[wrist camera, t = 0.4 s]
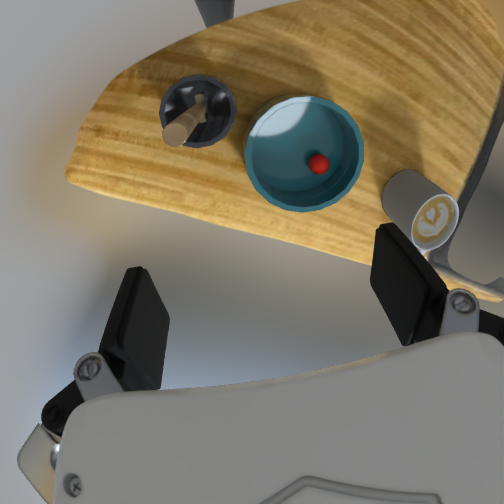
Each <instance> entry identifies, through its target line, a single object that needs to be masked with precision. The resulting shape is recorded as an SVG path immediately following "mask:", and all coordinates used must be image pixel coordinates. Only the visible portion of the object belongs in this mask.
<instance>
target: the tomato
mask: <svg viewBox="0 0 504 504" xmlns="http://www.w3.org/2000/svg"><path fill="white" fill-rule="evenodd" d="M309 168H310V170H311V171H312V172H313V173H315V174H318V175H321V174H324V173H326V172H327V171H328V169H329V160H328V159H327V157H326V156H324V155H322V154H315V155H313V156H312V157H311V158H310V160H309Z"/></svg>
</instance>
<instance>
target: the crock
mask: <svg viewBox="0 0 504 504" xmlns="http://www.w3.org/2000/svg"><path fill="white" fill-rule="evenodd" d="M203 92H204V93H205V98H206V103H207V109H208V114H209V118H208V119H207V121H206V122H203V123H200V121H199V123H198V124H197V125H196V127H195V128H194V130H193V131H192V133H191V134H190V136H189V137H188V139H187V140H186V142H185V143H184V144H183V146H187V147H193V148H201V147H206V146H211V145H213V144H215V143H216V142H218V141H220V140H221V139H223V138H224V137H225V136H226V135H227V133H228V132H229V131H230V129H231V128H232V127H233V125H234V121H235V117H236V113H237V109H236V103H235V97H234V95H233V93H232V91H231V90H230V88H229V87H228V85H227V84H226V83H224V82H222V81H221V80H219V79H218V78H215V77H211V76H206V75H193V76H188V77H184V78H182V79H180V80H179V81H177V82H176V83H174V84H173V85H172V86H170V87H169V89H168V90H167V92H166V93H165V95H164V96H163V98H162V100H161V105H160V111H159V115H160V120H161V124H162V128H163V129H164V128H165V127H166V126H167V125H168V124H169V123H171V122H172V121H173V120H175V119H176V118H177V117H179V116H180V115H181V114H183V113H184V112H185V111H187V110H188V109H189V108H191V107H192V106H194V105H195V104H196V101H195V95H196V94H199V93H203Z"/></svg>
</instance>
